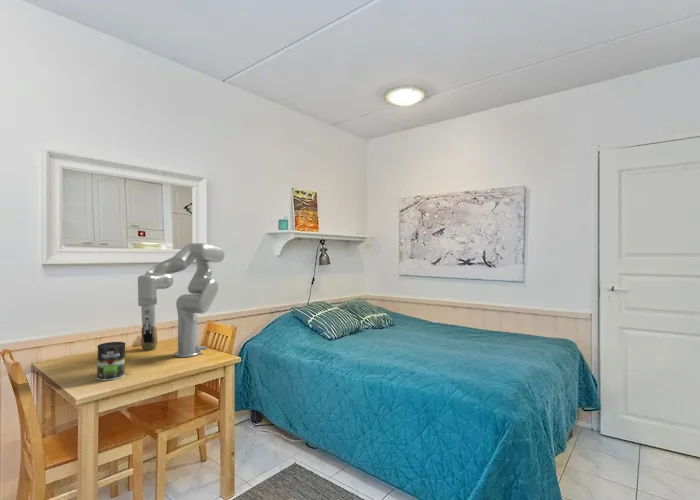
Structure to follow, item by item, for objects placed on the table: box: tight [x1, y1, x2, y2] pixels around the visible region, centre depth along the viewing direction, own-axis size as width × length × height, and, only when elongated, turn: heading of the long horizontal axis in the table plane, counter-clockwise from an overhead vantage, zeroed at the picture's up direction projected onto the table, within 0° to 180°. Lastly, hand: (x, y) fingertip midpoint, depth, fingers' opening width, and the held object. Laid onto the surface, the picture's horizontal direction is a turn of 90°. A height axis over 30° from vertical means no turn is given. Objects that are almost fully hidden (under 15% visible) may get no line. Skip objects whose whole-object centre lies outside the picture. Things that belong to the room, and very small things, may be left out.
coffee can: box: [96, 341, 126, 382], centre depth 166 cm, size 10×10×14 cm
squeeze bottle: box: [140, 326, 158, 352], centre depth 211 cm, size 8×8×18 cm
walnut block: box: [141, 326, 155, 346], centre depth 177 cm, size 5×5×7 cm
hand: (148, 340), depth 177 cm, fingers closed on walnut block, 5 cm apart
